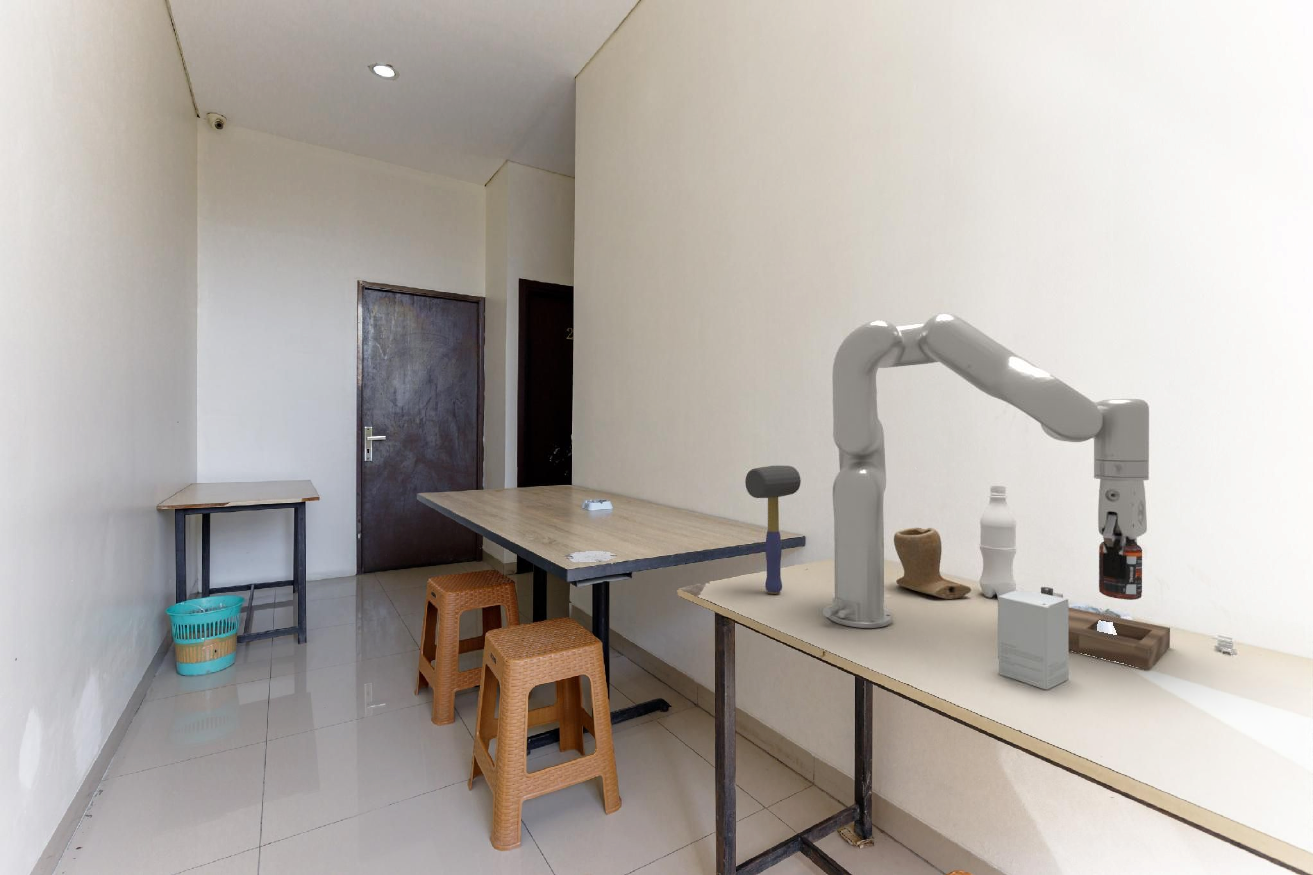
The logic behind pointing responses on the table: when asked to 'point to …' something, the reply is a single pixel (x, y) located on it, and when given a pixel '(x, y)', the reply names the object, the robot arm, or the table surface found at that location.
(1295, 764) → the table surface
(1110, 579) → the supplement bottle
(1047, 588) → the locking bolt
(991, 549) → the water bottle
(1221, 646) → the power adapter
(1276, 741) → the table surface
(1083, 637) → the socket block
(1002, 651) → the supplement box
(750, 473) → the rubber mallet
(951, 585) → the tan boot-shaped piece
